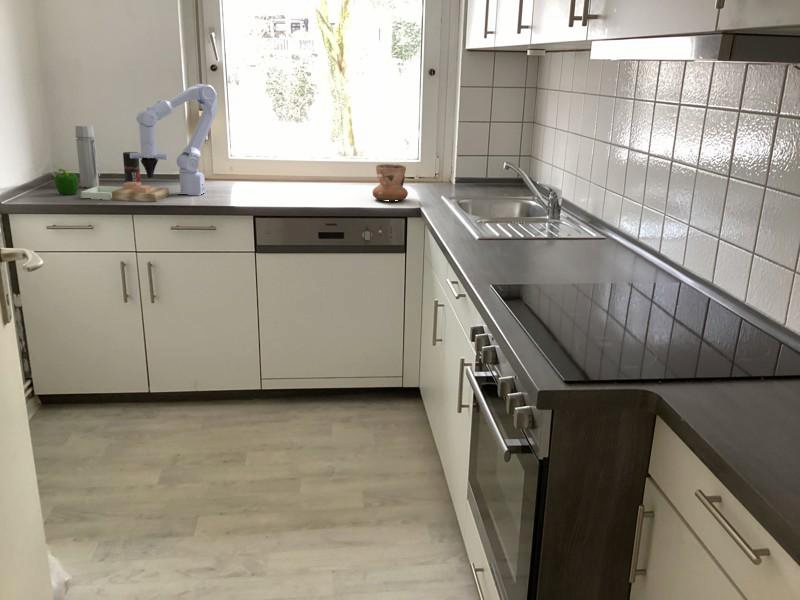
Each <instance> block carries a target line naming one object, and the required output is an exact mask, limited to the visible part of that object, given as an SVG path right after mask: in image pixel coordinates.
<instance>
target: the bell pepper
mask: <svg viewBox="0 0 800 600" xmlns="http://www.w3.org/2000/svg"><path fill="white" fill-rule="evenodd" d="M58 172H63V173H56V175H55V177H54V183H55V187H56V190H57V192H58V193H59V194H60V195H61V194H62V195H63V196H66V195H67V196H72V194H73V195H76V194H77V192H78V190H79V185H80V184H79V178H78V176H77V174H76V173H73V172H72V173H68V172H67V170H65V168H59V169H58ZM65 194H66V195H65Z"/></svg>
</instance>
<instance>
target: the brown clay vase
mask: <svg viewBox="0 0 800 600" xmlns="http://www.w3.org/2000/svg"><path fill="white" fill-rule="evenodd" d="M406 169H407V167H406V165H403V164H399V163H397V164H395V163H381V164H380V163H379V164H376V165H375V172H376V174H377V175H376V178H377V179H378V181H379V183H378V185H377V186H375V187H374V188H373V189H372V196H373V198H374V199H377V200H378V199H379V200H378V201H381V200H389V201H395V200H401V201H403V200H405V199H406V198H407V197H408V194H409V192H408V190H407V189H406V188H405V187H404V184H405V183H404V182H405V180H406V179H405V178H406V177H405V176H406V175H405V173H406V172H407V171H406Z"/></svg>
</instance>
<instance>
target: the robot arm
mask: <svg viewBox="0 0 800 600" xmlns="http://www.w3.org/2000/svg"><path fill="white" fill-rule="evenodd" d="M217 98H218V94H217V92H216V90H215V88H214V86H212V85H211V84H202V83H196V84H195V85H191V86H189V87H188V88H186V89H184V90H183V91H182V92H180V93H178V94H177V95H175V96H174V97H172V98H171V99H169V100H165V99H158V100H157V101H156V103H155V104H153V105H151V106H147V107H146V109H142V110H140V111H138V114H137V115H136V121H137V123H138V126H139V142H140V143H139V145H140V152H138V153H130V158H139V159H140V163H141V165H142V166H143V169H144V170H145V173H146V175H147V178H149V179H151V178H154V175H155V169H156V166H157V164H158V162H159V160H164V161H167V160H169V154H167V153H166V154H165V153H157V140H156V139H157V138H156V127H155V125H156V124H157V122H159V121H161V120H162V119H164V118H165V117H167V116H169V115H171V114H172V112H173V109H175V108H177V107H178V106H180V105H182V104H185V103H186V102H188V101H190V100H194V101H195V100H196V101H197V102H198V103H199V105H200V107H201V110H202V111H201V113H200V116H199V118H198V120H197V123H196V126H195V128H194V130H193V132H192V134H191V137H190V139H189V142H188V144H187V146H186V147H185V148H184V149H183V151H182V153H181V154H179V155H178V156H177V159H176V165H177V167H178V168H179V170H178V172H179V187H180V190H179V192H177V193H176V194H177V195H178V194H188V195H187V196H202V195H203V193H204V194H205V193H206V192H207V191H206V181H205V180H206V179H205V174H204V173H203V172H199V168H200V164H201V163H200V161H201V158H202V156H201V155H202V154H201V152H202V151H201V150H202V148H203V146H204V144H205V141H206V139H207V137H208V135H209V132H210V130H211V127H212V125H213V122H214V120H215V118H216V116H217V113H218V102H217V101H218V100H217ZM201 194H202V195H201Z"/></svg>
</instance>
